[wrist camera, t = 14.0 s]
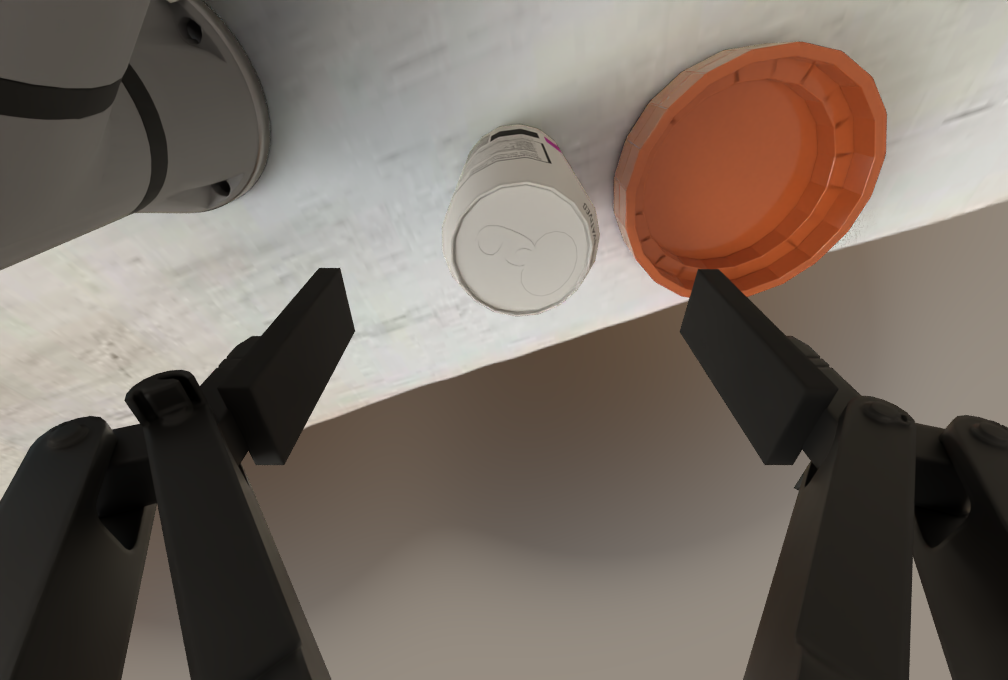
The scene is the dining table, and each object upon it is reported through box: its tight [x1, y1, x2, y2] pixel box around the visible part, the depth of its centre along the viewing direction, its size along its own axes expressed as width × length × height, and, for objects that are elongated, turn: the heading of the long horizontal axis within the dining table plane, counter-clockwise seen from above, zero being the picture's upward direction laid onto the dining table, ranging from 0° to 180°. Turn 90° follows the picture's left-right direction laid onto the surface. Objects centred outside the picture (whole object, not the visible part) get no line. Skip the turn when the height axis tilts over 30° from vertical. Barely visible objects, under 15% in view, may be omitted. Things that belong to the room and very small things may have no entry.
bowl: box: [614, 41, 887, 298], centre depth 31 cm, size 17×17×4 cm
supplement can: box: [442, 124, 600, 316], centre depth 27 cm, size 8×8×15 cm
